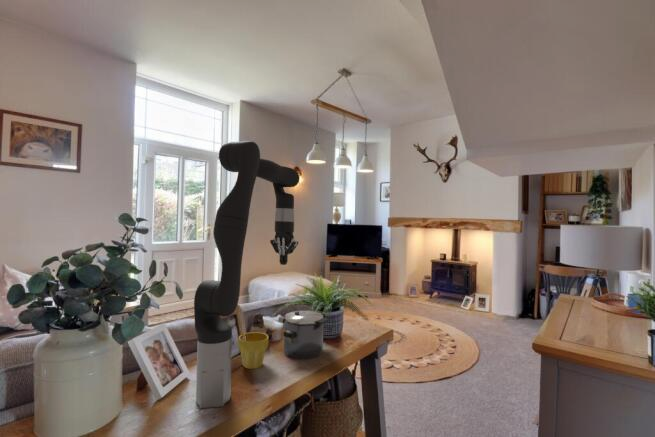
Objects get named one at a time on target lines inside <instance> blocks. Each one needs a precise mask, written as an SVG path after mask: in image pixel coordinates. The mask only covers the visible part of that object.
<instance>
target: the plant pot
mask: <svg viewBox="0 0 655 437" xmlns="http://www.w3.org/2000/svg"><path fill="white" fill-rule="evenodd" d="M244 334H245V336H246V341H243V340H242V337H243V336H242V334H240V335H239V336H238V339H237V340H238V341H237V346H238V349H239V350H240V355H241V356H242V357H241V362H242V366H243V367H244V368H246V369H248V370H249V369H250V370H253V369H258V368H261V367H262V366H263V364H264V359H265V354H266V350H267V348H268V347H269V339H270V338H269V335H268V334H267V333H266V334H265V333H260V332H250V331H249V332H244Z"/></svg>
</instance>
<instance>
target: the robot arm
mask: <svg viewBox="0 0 655 437" xmlns="http://www.w3.org/2000/svg"><path fill="white" fill-rule="evenodd" d="M218 159H219V163H220V165H221V167H222V168H223V169H224V170H226V171H228V172H231V173H238V174H237V178H236V181H235V184H234V185H233V187H232V189H231V190H230V192H229V193H228V194H227V195H226V196H225V198H224V199H223V200H222V202H221V203H220V205H219V207H218V208H217V211H216V214H215V220H214V225H213V231H212V232H213V239H214V242H215V246H216V249H217V251H218V254H219V256H220V261H221V277H220V280H213V279H207V280H203V281H202V282H200V284H198V286H197V288H196V291H195V293H194V299H193V301H194V302H193V308H194V309H193V310H194V313H193V315H194V330H195V332H196V335H197V337H196V339H197V344H196V346H197V348H196V349H197V350H196V382H195V383H196V384H195V385H196V386H195V387H196V388H195V389H196V391H195V396H196V397H195V401H196V404H197V405H198V406H199V409H207V408H218V407H224V406H225V404H226V403H227V402H229V401H230V399H231V392H232V391H231V389H232V387H231V385H232V382H231V381H232V347H233V346H232V344H233V343H232V342H233V341H232V340H233V337H232V336H233V328H232V326H231V325H230V324H229V323H227V322H226V321H225V320H224V319H223V318H222V317H228V316H231V315H232V314H233V313H235V311H236V309H237V306H238V304H239V300H240V293H241V292H240V291H241V279H242V278H241V276H242V264H243V263H242V262H243V256H244V255H243V253H244V248H245V241H246V237H247V236H246V235H247V232H248V231H247V230H248V223H249V217H250V208H251V202H252V197H253V192H254V187H255V183H256V179H257V178H260V179H262V180H265V181H267V182H270V183H272V186H273V190H274V195H275V211H274V212H275V213H274V232H275V235H274V238H272V239H270V240H269V242H270V244H271V246H272V248H273V250H274V252H275V253H276V254H278V255H279V264H280V265H282V266H284V265H288V264H287V263H288V256H289V255H290V254H293V252H294V251H295V249H296V248H297V247H298V245H299V241H296V239H295V238H294V232H295V196H294V195H293V194H292V193H288V192H286V191H285V189H284V188H294V187H297V185H298V184H299V182H300V175H299V172H298V171H297V170H296V169H295V168H292V167H288V166H283V165H280V164H279V163H277V162H274V161H272V160H270V159H266V158H262V157H261V151H260V148H259V145H258V144H257V143H256V142H255V141H251V140H242V141H229V142H226V143H223V145H221V147H220V149H219V152H218Z"/></svg>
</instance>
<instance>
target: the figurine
mask: <svg viewBox="0 0 655 437" xmlns="http://www.w3.org/2000/svg"><path fill="white" fill-rule="evenodd" d="M263 316H264V314H262V313H260V312H257V313H256V314H254V315H253V317H252V322H251V324H250V326H251V327H250V328H249V333H250V332H260V333H265V334H267V330H266V325H265V321H264V318H263Z"/></svg>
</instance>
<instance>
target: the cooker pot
mask: <svg viewBox="0 0 655 437" xmlns="http://www.w3.org/2000/svg"><path fill="white" fill-rule="evenodd" d="M277 320H278V323H281V324H283V325H284V327H283V354H284V355H285V356H287V357H288V358H291V359H293V360H294V359H295V360H311V359H316V358H318V357H320V356H322V355H323V351H324V347H323V346H324V324H322V325H318V324H312V325H297V324H291V323H289V322H287V321H286V320H285V316H278V319H277Z"/></svg>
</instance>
